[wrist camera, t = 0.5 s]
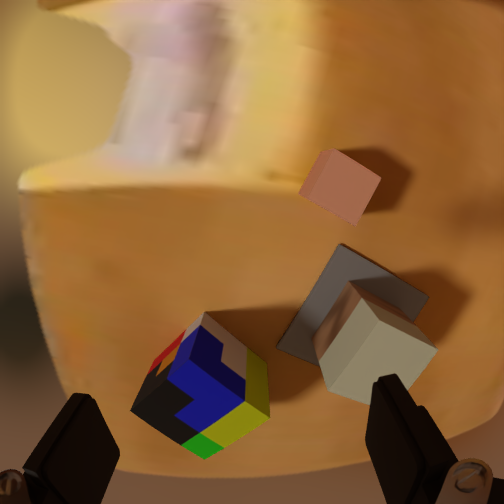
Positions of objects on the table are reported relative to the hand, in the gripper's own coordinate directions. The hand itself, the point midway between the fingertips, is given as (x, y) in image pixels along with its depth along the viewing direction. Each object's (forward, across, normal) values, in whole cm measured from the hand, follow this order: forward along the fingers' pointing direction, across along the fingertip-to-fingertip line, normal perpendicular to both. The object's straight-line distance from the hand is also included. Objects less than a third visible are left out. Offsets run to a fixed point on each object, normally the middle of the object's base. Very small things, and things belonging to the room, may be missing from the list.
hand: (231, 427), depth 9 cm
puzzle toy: (+26, +6, +14) cm, 30 cm away
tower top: (+20, -12, +10) cm, 26 cm away
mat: (+26, -12, +10) cm, 30 cm away
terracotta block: (+26, -9, -6) cm, 28 cm away
